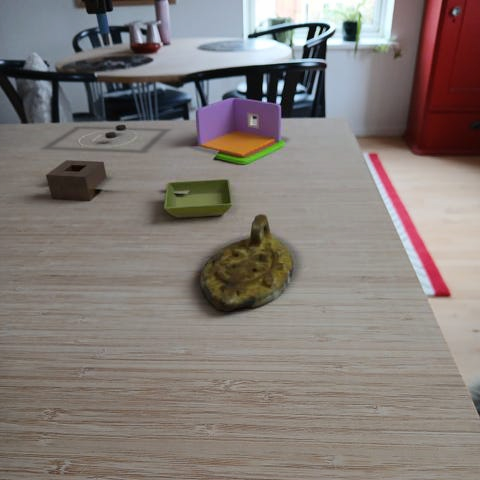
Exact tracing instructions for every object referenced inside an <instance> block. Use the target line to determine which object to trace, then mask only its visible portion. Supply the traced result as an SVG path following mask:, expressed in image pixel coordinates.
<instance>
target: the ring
mask: <svg viewBox="0 0 480 480" xmlns="http://www.w3.org/2000/svg"><path fill="white" fill-rule="evenodd" d="M106 131H107V132H108V131H109V132H110V129H103V130H98V131H94V132H90V133H88V134H85V135H82V136H81V137H79V139H78V141H77V144H79V145H80V146H81V147H84V148H85V147H86V148H91V149H92V148H93V149H105V148H113V147H118V146H123V145H126V144H129V143H131V142H134V141H135V140H137V138H138V133H137V132H135V131H133V130H130V129H129V130H128V129H126V130H123V131H125V132H130V133H132V134H134V137H133V138H132V139H131V140H129V141H126V142H123V143H120V144H115V145H109V146H108V145H107V146H90V145H86V144H83V143H81V140H82V139H83V138H85V137H86V136H89V135H92V134H95V133H101V132H106ZM111 131H117V130H116V128H112V129H111ZM101 136H102V134H99V135H98V136H96V137H95V138H93V139H92V140H91V142H94V141H95V140H97V139H98V138H100V137H101Z"/></svg>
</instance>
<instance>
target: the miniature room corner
mask: <svg viewBox="0 0 480 480" xmlns="http://www.w3.org/2000/svg"><path fill="white" fill-rule="evenodd" d="M254 117H255V118H256V123H253V121H254V119H253V118H254ZM195 127H196V138H197V145H198V146H199V147H202V148H207V149H211V150H215V151H217V153H216V154H215V156H214V157H213V158H214V159H218V160H222V161H225V162H229V163H234V164H239V165H247V164H249V163H253V162H254V161H257V160H259V159H261V158H263V157H265V156H267V155H269V154H271V153H273V152H275V151H277V150H279V149H281V148H283V147H285V145H286V142H285V141H284V140H282V139H281V138H282V106H281V104H279V103H274V102H269V101H268V102H267V101H263V100H262V101H261V100H255V99H248V98H242V97H229V98H226V99H225V98H224V99H222V100H219V101H216V102H213V103H211V104H208V105H205V106H202V107H200V108H198V109H196V110H195Z"/></svg>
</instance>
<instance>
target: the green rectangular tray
mask: <svg viewBox="0 0 480 480" xmlns="http://www.w3.org/2000/svg"><path fill="white" fill-rule="evenodd" d="M231 188H232V187H231V181H230V179H226V178H222V179H221V178H220V179H204V180H202V179H201V180H187V181H169V182H167V183H166V186H165V196H164V203H163V204H164V205H163V208H164V210H166V212H167V213H168V214H170V215H171V216H172V217H175V218H176V219H185V218H201V217H216V216H224V215H225V214H226V213H227V212H228V211H229V210H230V209H231V207H232V206H233V204H234V202H233V196H232V195H233V194H232V189H231ZM185 191H188V192H187V193H182V192H185ZM179 192H181V193H179Z"/></svg>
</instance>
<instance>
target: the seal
mask: <svg viewBox="0 0 480 480" xmlns="http://www.w3.org/2000/svg"><path fill="white" fill-rule="evenodd" d="M269 224H270V223H269V219H268V216H267V215H266V214H264V213H260V214H257V215H255V216H254V219H253V221H252V223H251V227H250V234H249V237H247V238H243V239H241V240H239V241H235V242H232V243H230V244H228V245H226V246H224V247H223V248H220V249H219V250H217V251H216V252H215V254H213V255H212V256H211V257H210V258H209V259H208V260H207V261H206V263H205V265H204V267H203V268H202V270H201V272H200V280H199V283H200V287H201V289H202V291H203V293H204V295H205V296H206V299H207V300H208V302H210V303H211V304H212V305H213V306H214V307H215V308H217V309H219V310H221V311H224V312H231V311H234V310H235V309H242V308H245V307H250V308H254V309H255V308H257V307H260V306H262V305H263V306H264V305H265V304H267V303H269V302H272V301H274V300H275V299H277V298H278V297H279V296H281V295H282V294H284V292H285V290H286V289H287V288H288V286H289V285H290V281H291V279H292V276H293V273H294V260H293V257H292V254H291V251H290V250H289V249H288V248H287V247H286V245H285V244H284V243H282V242H281V241H280V240H278V239H277V238H276V237H274V236H273V234H272V233H271V229H270V225H269Z"/></svg>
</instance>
